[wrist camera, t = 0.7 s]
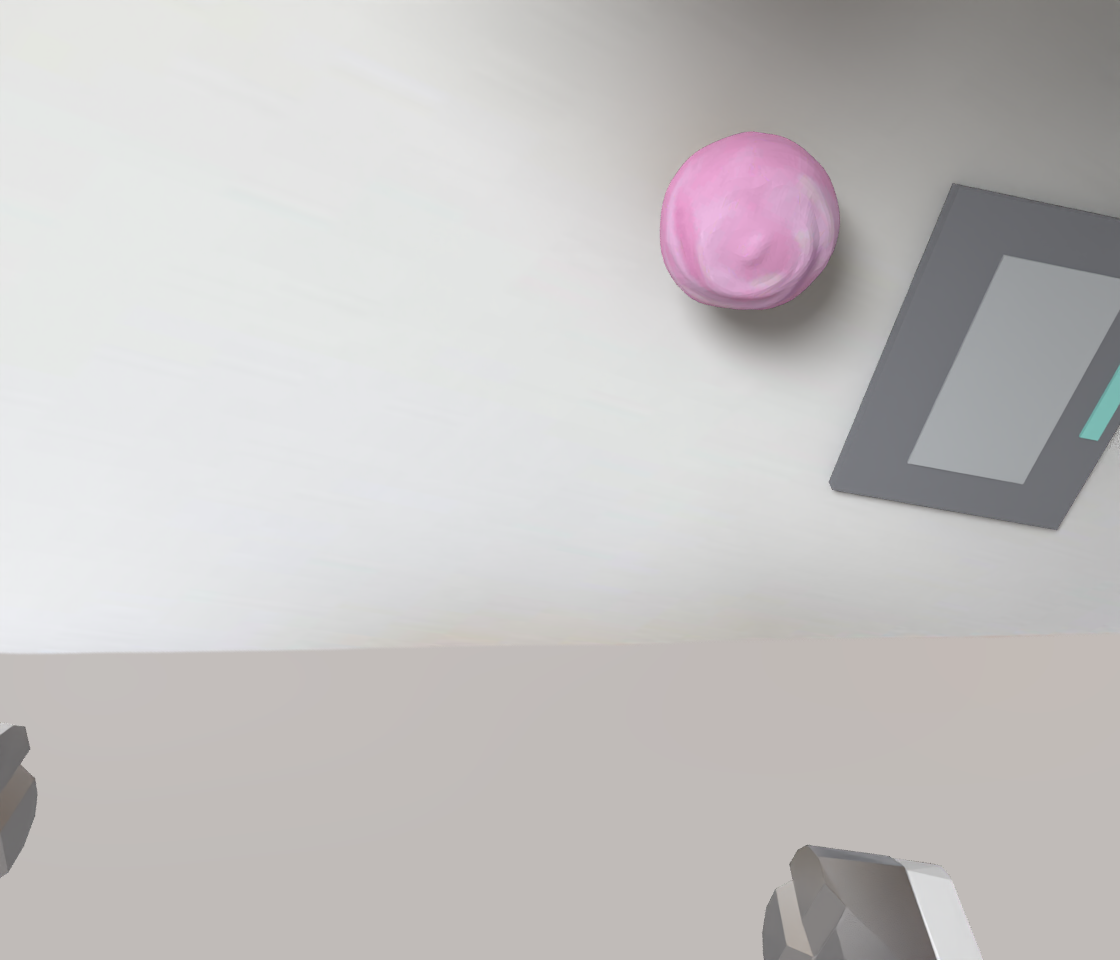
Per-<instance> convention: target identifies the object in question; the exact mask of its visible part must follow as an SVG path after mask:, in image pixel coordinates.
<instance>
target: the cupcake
mask: <svg viewBox="0 0 1120 960" xmlns="http://www.w3.org/2000/svg"><path fill="white" fill-rule="evenodd" d="M839 227H840V214H839V207H838V202H837V197H836V194H835V191H834V188H833V185H832V183H831V180H830V178H829V176H828V174H827V173H826V171H825V169H824V168H823V167H822V166H821V165H820V163H818V162H817V161H816V160H815V159H814V158H813V157H812V156H811V155H810V154H809V153H808V152H807V151H806V150H805V149H803V148H802V147H801V146H799V145H798V144H796V143H795V142H793V141H791V140H789V139H787V138H784V137H781V136H778V135H773V134H766V133H759V132H754V131H753V132H744V133H739V134H735V135H732V136H729V137H726V138H724V139H721V140H719V141H716V142H714V143H712V144H709V145H707V146H705V147H704V148H702V149H700V150H699V151H697V152H696V153H694V154H693V155H692V156H691V157H689V158H688V160H687V161H686V162H685V163H684V164H683V165H682V166H681V168H680V169H679V170H678V172H677V173H676V175H675V176H674V178H673V179H672V180H671V183H670V185H669V187H668V189H667V191H666V193H665V197H664V201H663V205H662V211H661V221H660V245H661V253H662V256H663V260H664V263H665V266H666V268H667V270H668V272H669V273H670V275H671V277H672V278H673V280H674V281H675V282H676V284H677V285H678V286H679V287H680V288H681V289H682V290H683V291H684V292H685V293H686V294H687V295H688V296H689V297H691V298H692V299H694V300H696V301H698V302H700V303H703V304H707V305H711V306H716V307H723V308H731V309H738V310H746V309H755V310H763V309H769V308H774V307H776V306H779V305H782V304H784V303H786V302H788V301H790V300H792V299H794V298H795V297H796V296H798V295H799V294H800V293H802V292H803V291H804V290H805V289H806V288H807V287H808V286H809V285H810V284H811V283H812V282H813V281H814V280H815V279H816V278H817V276H818V275H819V274H820V273H821V272H822V271H823V269H824V268H825V267H826V265H827V263H828V261H829V259H830V257H831V255H832V253H833V252H834V249H835V245H836V242H837V238H838V234H839Z"/></svg>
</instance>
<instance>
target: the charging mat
mask: <svg viewBox="0 0 1120 960" xmlns="http://www.w3.org/2000/svg"><path fill="white" fill-rule="evenodd" d="M1119 425H1120V219H1119V218H1114V217H1110V216H1105V215H1100V214H1096V213H1091V212H1086V211H1081V210H1077V209H1072V208H1067V207H1062V206H1058V205H1053V204H1048V203H1043V202H1039V201H1034V200H1029V199H1025V198H1020V197H1015V196H1010V195H1006V194H1001V193H996V192H991V191H987V190H982V189H977V188H972V187H968V186H963V185H958V184H952V187H951V189H950V192H949V194H948V196H947V199H946V201H945V204H944V206H943V208H942V211H941V213H940V216H939V218H938V220H937V223H936V225H935V228H934V230H933V232H932V235H931V237H930V240H929V242H928V244H927V247H926V249H925V252H924V254H923V256H922V259H921V261H920V264H919V266H918V269H917V271H916V273H915V276H914V278H913V281H912V283H911V285H910V288H909V290H908V293H907V295H906V297H905V300H904V302H903V305H902V307H901V309H900V312H899V314H898V317H897V319H896V321H895V324H894V326H893V329H892V331H891V333H890V336H889V338H888V341H887V343H886V345H885V348H884V350H883V353H882V355H881V358H880V360H879V362H878V365H877V367H876V370H875V372H874V374H873V377H872V379H871V382H870V384H869V386H868V389H867V391H866V394H865V396H864V398H863V401H862V403H861V406H860V408H859V410H858V413H857V415H856V418H855V420H854V422H853V425H852V427H851V430H850V432H849V435H848V437H847V439H846V442H845V444H844V447H843V449H842V451H841V454H840V456H839V459H838V461H837V463H836V466H835V468H834V471H833V473H832V475H831V478H830V480H829V483H830V486H831V488H832V490H837V491H842V492H848V493H853V494H859V495H864V496H870V497H876V498H881V499H887V500H892V501H898V502H904V503H909V504H915V505H920V506H926V507H932V508H937V509H943V510H948V511H954V512H960V513H965V514H971V515H976V516H982V517H987V518H993V519H999V520H1004V521H1010V522H1015V523H1021V524H1027V525H1032V526H1038V527H1043V528H1049V529H1055V530H1057V529H1058V527H1059V525H1060V524H1061V522H1062V520H1063V519H1064V517H1065V515H1066V514H1067V512H1068V510H1069V509H1070V507H1071V505H1072V504H1073V502H1074V500H1075V499H1076V497H1077V495H1078V494H1079V492H1080V490H1081V489H1082V487H1083V485H1084V484H1085V482H1086V480H1087V478H1088V477H1089V475H1090V473H1091V472H1092V470H1093V468H1094V467H1095V465H1096V463H1097V462H1098V460H1099V458H1100V457H1101V455H1102V453H1103V452H1104V450H1105V448H1106V447H1107V445H1108V443H1109V442H1110V440H1111V438H1112V437H1113V435H1114V433H1115V431H1116V430H1117V428H1118V426H1119Z"/></svg>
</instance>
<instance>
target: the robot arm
mask: <svg viewBox="0 0 1120 960" xmlns="http://www.w3.org/2000/svg"><path fill="white" fill-rule="evenodd" d="M29 750H30V746H29V741H28V737H27V733H26V729H25V727H24V726H18V725H13V724H7V723H1V722H0V878H1V877H2V876H4V875H5V874H7V873H8V872H9V870H10V868H11V867H12V865H13V863H14V862H15V860H16V858H17V857H18V855H19V853H20V852H21V850H22V848H23V846H24V844H25V842H26V838H27V836H28V833H29V830H30V828H31V825H32V822H33V820H34V817H35V811H36V803H37V788H36V781H35V778H34V777H33V776H32V775H31V774H30V773H29V772H28V771H27V770H26V769H25V768H24V767H23V766H22V765H21V762H22V761H23V759H24V758H25V756H26V755H27V753H28V752H29ZM790 869H791V874H792V879H793V880H792V881H790V882H788V883H786V884H784V885H782V886H780V887H778V888H776V889H775V891H774V893H773V895H772V897H771V899H770V901H769V903H768V905H767V907H766V913H765V919H764V925H763V933H762V934H763V956H764V960H984V959H983V957H982V954H981V952H980V950H979V947H978V944H977V942H976V939H975V937H974V935H973V932H972V929H971V927H970V924H969V922H968V919H967V917H966V914H965V912H964V910H963V907H962V905H961V902H960V899H959V897H958V894H957V892H956V889H955V887H954V885H953V882H952V880H951V877H950V876H949V874H948V873H947V872H946V871H945V870H944V868H943V867H942V866H940V865H936V864H931V863H924V862H917V861H910V860H902V859H894V858H891V857H890V856H884V855H877V854H870V853H862V852H855V851H848V850H840V849H833V848H826V847H819V846H811V845H806V846H804V847H802V848H800V849H798V850H797V852H796V854H795V855H794V857H793V859H792V861H791V862H790Z"/></svg>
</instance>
